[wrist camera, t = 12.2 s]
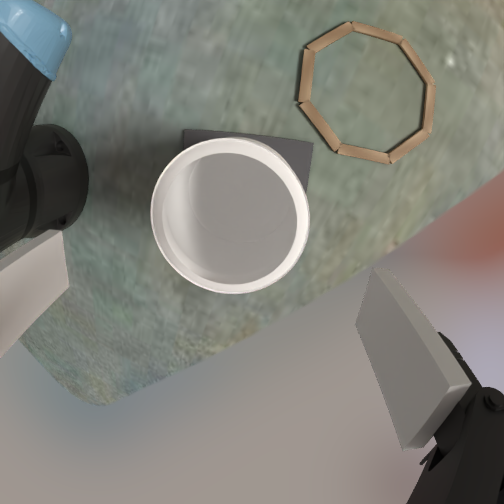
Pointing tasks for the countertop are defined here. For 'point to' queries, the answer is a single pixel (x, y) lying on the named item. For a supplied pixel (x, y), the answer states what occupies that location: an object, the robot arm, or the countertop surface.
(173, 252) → the jar
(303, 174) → the mat
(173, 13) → the countertop surface
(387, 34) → the cork ring
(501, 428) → the robot arm
